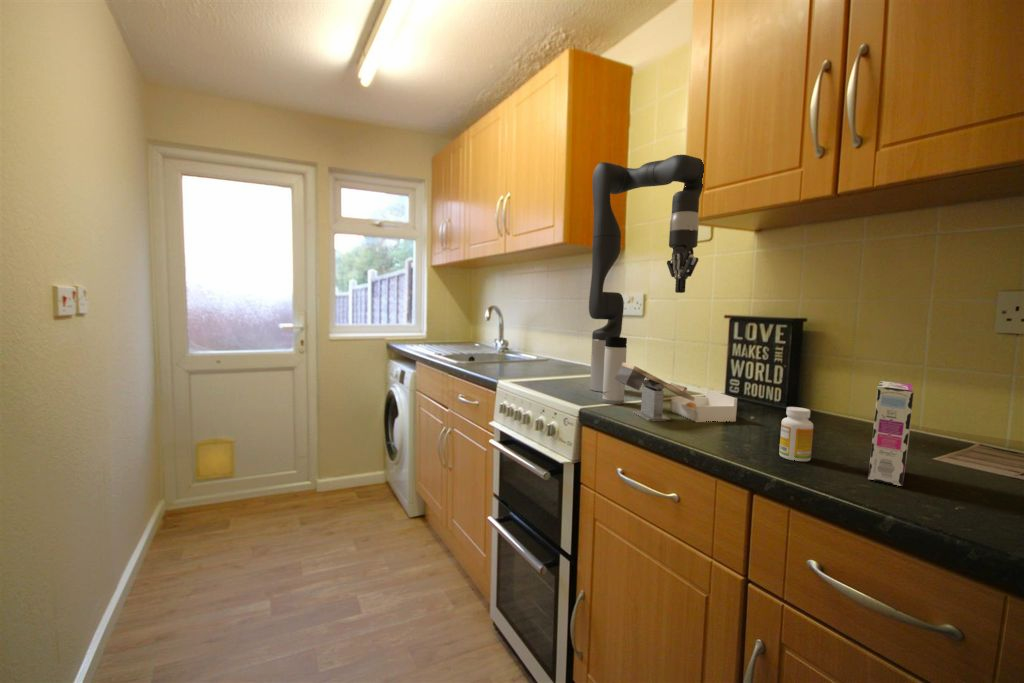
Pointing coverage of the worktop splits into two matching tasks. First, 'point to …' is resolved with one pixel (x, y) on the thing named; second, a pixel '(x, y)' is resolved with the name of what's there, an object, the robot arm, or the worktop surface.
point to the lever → (636, 376)
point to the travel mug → (613, 369)
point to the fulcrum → (652, 401)
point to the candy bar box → (891, 432)
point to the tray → (707, 407)
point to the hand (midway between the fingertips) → (680, 292)
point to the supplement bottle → (796, 435)
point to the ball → (691, 405)
